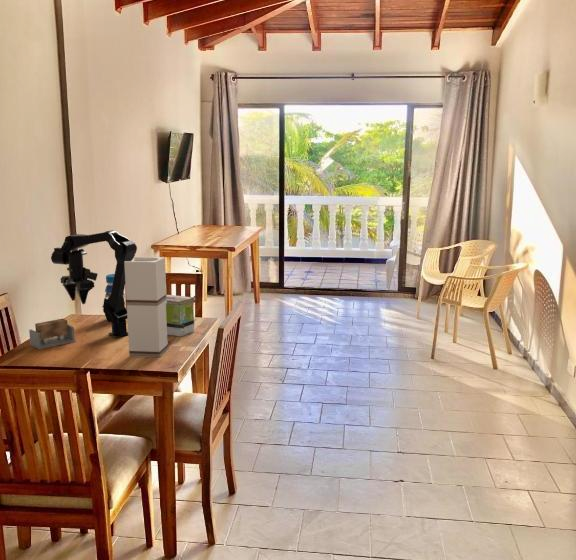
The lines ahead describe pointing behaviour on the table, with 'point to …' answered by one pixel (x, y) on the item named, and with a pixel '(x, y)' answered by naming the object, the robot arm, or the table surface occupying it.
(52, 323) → the brown rectangular block
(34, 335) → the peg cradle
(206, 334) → the table surface
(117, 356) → the table surface
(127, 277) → the white banded pillar
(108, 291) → the beverage bottle
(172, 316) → the green and white box
